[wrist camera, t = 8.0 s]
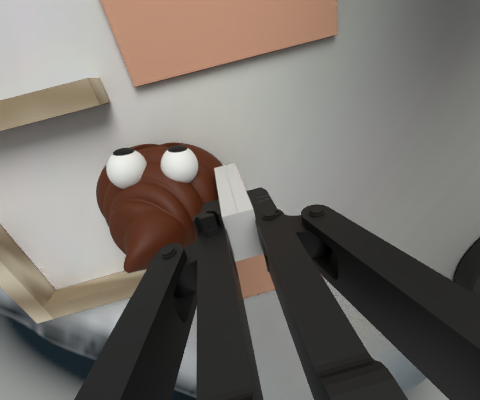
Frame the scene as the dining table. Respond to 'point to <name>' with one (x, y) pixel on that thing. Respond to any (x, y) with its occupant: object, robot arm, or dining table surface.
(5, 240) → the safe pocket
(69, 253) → the dining table surface
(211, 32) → the pads
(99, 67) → the dining table surface
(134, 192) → the poop emoji
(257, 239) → the robot arm
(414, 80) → the dining table surface
